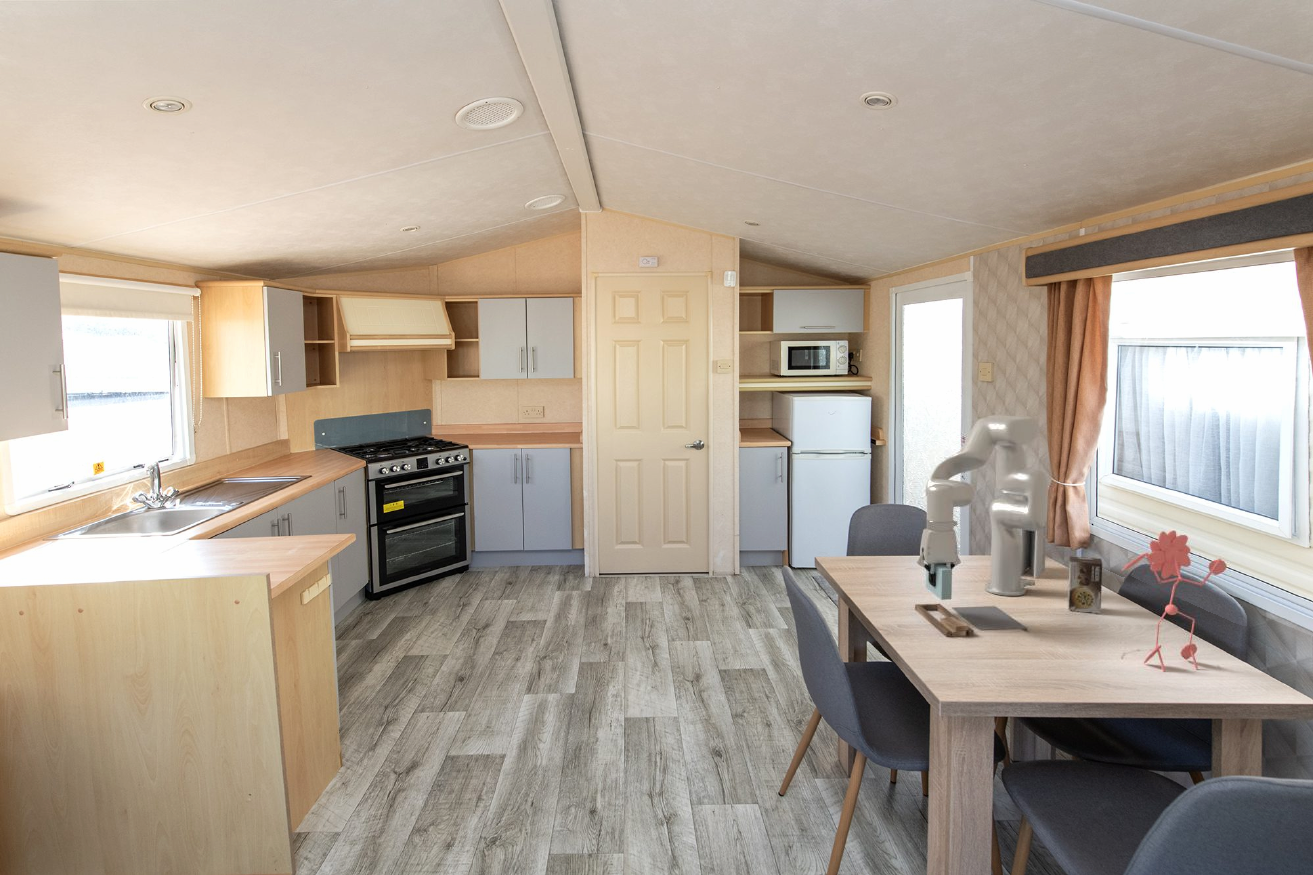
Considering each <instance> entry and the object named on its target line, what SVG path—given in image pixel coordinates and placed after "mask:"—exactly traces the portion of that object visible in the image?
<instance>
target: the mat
mask: <svg viewBox="0 0 1313 875" xmlns="http://www.w3.org/2000/svg"><path fill="white" fill-rule="evenodd" d="M951 609H952V610H954V611H955V612H956V613H957V614H959V615H960V616H962V618H964V619H965V620H967V622H969V623H971V625H973V626H974V627H975V628H976V629H978V630H979V631H992V630H993V631H999V630H1001V631H1002V630H1005V631H1006V630H1021V631H1023V632H1028V627H1026V626H1025V625H1024V624H1022V623H1020V622H1019V621H1018V620H1016V619H1015V618H1013V617H1012V616H1011V615H1009V614H1008V613H1006V612H1004V611H1003V610H1002V609H1000V608H999V607H997V606H995V605H991V606H989V605H988V606H985V605H984V606H964V607H963V606H962V607H961V606H957V607H954V606H953V607H951Z"/></svg>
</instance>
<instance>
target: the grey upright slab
mask: <svg viewBox="0 0 1313 875" xmlns="http://www.w3.org/2000/svg"><path fill="white" fill-rule="evenodd" d="M1021 497H1022V498H1021V500H1025V501H1028V498H1027V497H1023V496H1021ZM1048 509H1049V497H1048V498H1047V513H1048V512H1049V511H1048ZM1047 531H1048V514H1047V515H1046V522H1045V525H1044V527H1043V528H1042V529H1041V530H1039V531H1029V530H1023V529H1020V535H1021V538H1022V563H1021V576H1022V575H1023V574H1024V573H1025V572H1026V571H1028V569H1029V570H1030V572H1031V574H1032V575H1033V577H1034V579H1037V578H1038V577H1039V576H1040V575H1041V574H1042V573H1043V572H1044V571H1045V570H1046V555H1047V553H1046V552H1047Z"/></svg>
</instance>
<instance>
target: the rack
mask: <svg viewBox="0 0 1313 875" xmlns="http://www.w3.org/2000/svg"><path fill="white" fill-rule="evenodd" d="M914 605H915V606H914V610H915V612H917V613H918V614H919V615H921V616H922V617H923V618H924V619H925V620H926V621H927V622H929V624H931V626H933V627H934V628H935V629H937V630H938V632H940V633H941V634H942V635H943V636H945V637H946V638H951V637H952V636H951V631H950V630H949V629H948V628H946V627H945V626H944V625H943V624H942V623H940V620H938V619H937V618H936V617H934V616H933V614H931V613H930V611H937V612H938V613H940V614H941V615H942V616H943V617H944V618H947V617H953V618H955V619H957V620H959V621H961V622H963V620H961V619H959V618H958V617H957V616H956V615H954V614H953V613H952V612H951V611H949V610H948V609H947V608H946V607H945V606H943V605H942V604H940V603H923V604H922V603H920V604H919V603H918V604H914ZM928 611H929V612H928ZM974 631H975V630H974V629H972V628H971V627H970V626H968V631H966V636H968V637H974Z"/></svg>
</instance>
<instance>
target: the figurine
mask: <svg viewBox="0 0 1313 875" xmlns="http://www.w3.org/2000/svg"><path fill="white" fill-rule="evenodd" d="M1188 540H1189V536H1188V535H1186V534H1180V535H1178V536H1177V531H1176V530H1170V531H1169V532H1168V533H1166V532H1165V531H1161V532H1160V533H1159V534H1158V540H1151V541H1150V542H1149V548H1150V550H1151V552H1149V553H1148V552H1147V551H1146V552H1144V553H1143V554H1141V555H1139V556H1137V557H1135V558H1134V559H1133V560H1131V561H1130V562H1129V563H1128V564H1126V566H1124V567H1123V568H1122V569H1121V572H1125V571H1126V570H1127V569H1128V570H1129V569H1130V568H1132V567H1133V566H1134V565H1136V564H1137V563H1139V562H1140V561H1142V560H1143V558H1145V557H1146V559H1147V561H1148V563H1149V565H1150V571H1151V572H1153V573H1154V575H1155V577H1156V579H1157V582H1158V584H1165V583H1170V582H1174V581H1175V582H1174V583H1173V585H1172V586H1173V587H1172V590H1171V596H1170V601H1169V604H1167V605H1166V606H1165V608H1164V610H1165V611H1164V612H1163V614H1162V616H1161V618H1160V619H1159V621H1158V622H1157V627H1156V629H1157V630H1156V642H1155V643H1156V644H1155V647H1154V649H1153V650H1151V652H1150V654H1148V655H1147V657H1146V658H1145V660H1144V662H1143V664H1146V663H1147V662H1148V661H1149V660H1151V658H1153V657H1154V656H1155V655H1156V654H1157V655H1158V657H1159V661H1160V665H1161V666H1160V667H1161V669H1162V672H1166V668H1165V664H1164V660H1163V658H1162V655H1161V651H1160V650H1161V648H1162V645H1161V644H1158V643H1159V633H1160V624H1161V622H1162V620H1163V619H1164V617H1165V616H1166V614H1168V615H1170V616H1173V615H1174V616H1175V615H1176V614H1179V615H1181V616H1183V617H1185V618H1187V619H1189V620H1192V623H1191V624H1192V625H1191V631H1190V638H1189V643H1188V644H1186V645H1185V646H1184V647H1182V649H1181V650H1180V657H1182V658H1183V659H1184V660H1186V661H1187V660H1189V659H1190V658H1192V661H1193V665H1194V668H1195V669H1196V668H1198V664H1197V660H1196V658H1195V654H1196V653H1197V651H1198V647H1197V645H1196V644H1194V643H1192V639H1193V636H1194V634H1193V633H1194V629H1195V623H1196V622H1195V621H1196V619H1195V618H1193V617H1191V616H1188V615H1187V614H1186V613H1185V614H1184V613H1182V612H1180V611H1179V609H1178V607H1177V606H1176V605H1174V604H1173V599H1174V596H1175V592H1176V591H1175V590H1176V587H1177V585H1178V584H1179V582H1183V581H1184V582H1187V583H1190V584H1194V585H1198V586H1203V585H1205V583H1206V582H1207V580H1208V579H1209V578H1210V577H1211V575H1212V574H1213V575H1214V576H1218V575H1220V574H1222V573H1224V572H1225V570H1226V569H1227V563H1226V562H1225V560H1222V559H1221V558H1217V559H1214V560H1211V562H1210V563H1209V564H1208V566H1207V567H1208V570H1209V572H1208V573H1207V575H1206V576H1205V578H1204V579H1203V581H1202V582H1198V581H1194V580H1190V579H1186V578H1184V577H1182V575H1181V569H1182V568H1181V567H1183V568H1184V567H1185V568H1188V567H1190V566H1191V564H1192V561H1191V558H1190V556H1189V554H1190V553H1191V548H1190V547H1189V546H1188V545H1187V542H1188ZM1157 572H1161V573H1160V574H1161V577H1162V578H1163V579H1164V580H1161V578H1160V576H1159V574H1158V573H1157ZM1170 576H1174V577H1175V578H1170ZM1177 576H1178V577H1177ZM1168 578H1170V579H1168ZM1123 656H1124V655H1121V659H1122V658H1123ZM1217 667H1218V668H1220V666H1219V665H1217ZM1198 669H1199V668H1198Z"/></svg>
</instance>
